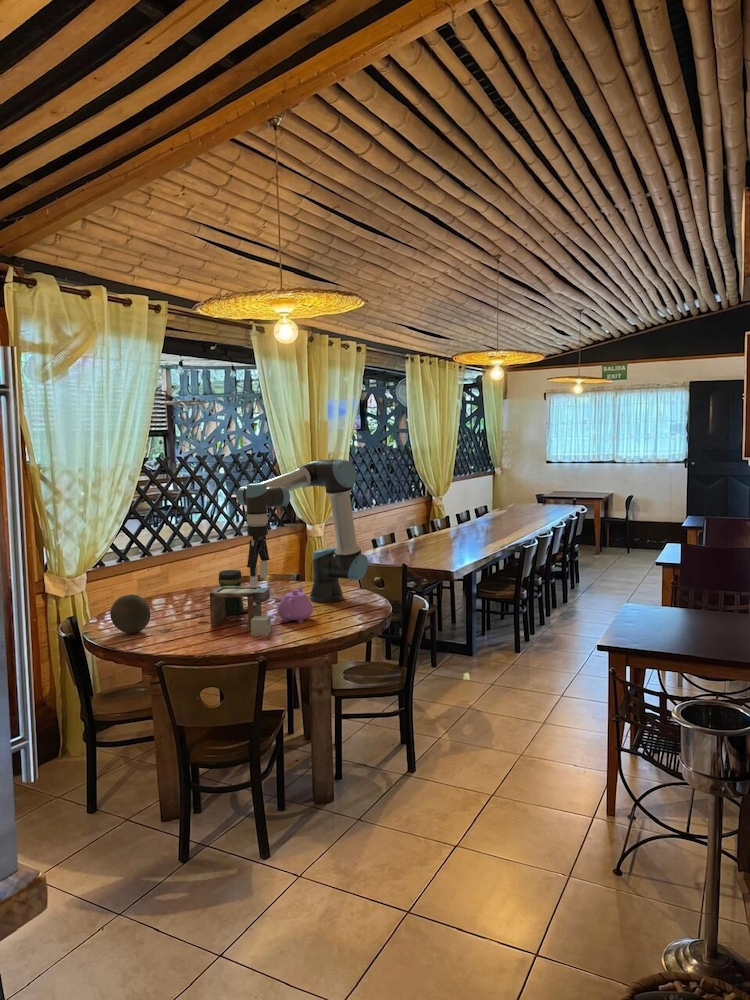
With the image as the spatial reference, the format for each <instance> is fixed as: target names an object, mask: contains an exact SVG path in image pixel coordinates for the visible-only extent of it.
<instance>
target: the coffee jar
mask: <svg viewBox="0 0 750 1000" xmlns="http://www.w3.org/2000/svg"><path fill="white" fill-rule="evenodd" d="M217 581H218V583H219V587H220V586H242V585H241V584H242V582H243V576H242V571H241V570H239V569H227V570H226V569H225V570H224V569H223V570H221V571H219V574H218V580H217ZM243 601H244V600H243V597H225V611H226V616H234V615H239V614H240V615H241V614H242V613H243V612H244V602H243Z"/></svg>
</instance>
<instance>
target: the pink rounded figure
mask: <svg viewBox="0 0 750 1000" xmlns="http://www.w3.org/2000/svg"><path fill="white" fill-rule="evenodd" d="M303 590H304V589H303V584H301V585H299V586H298V589H295V588H294V589H291V592H287V593H285V594H284V595H283V596H282V598H281V599H280V600H279V601H280V602H279V604H278V608H277V615H278V616H279V617H280V618H281V619H283V621H282V622H284V623H285V624H286V622H288V623H290V621H297V623H298V622H299V623H298V624H302V623H301V622H304V620H307V619H306V618H308V619H309V618H310V616H311V615H312V614H313V612H314V606H313V604H312V602H311V600H310V597H309V596H308V595H307V593H305V592H304V591H303ZM304 623H305V622H304Z"/></svg>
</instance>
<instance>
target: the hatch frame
mask: <svg viewBox="0 0 750 1000" xmlns="http://www.w3.org/2000/svg"><path fill="white" fill-rule="evenodd" d="M256 588H262V587H261V586H258V585H250V586H248V585H247V586H245V585H244V586H242V585H241V586H220V585H219V586H218V587H217V588H215V589H214V590H212V591H211V592H209V613H210V614H209V616H210V617H209V618H210V627H211V628H216V627H217V626H219V625H220V624H221V623H222V622H223V621H225V620H226V618H227V617H226V616H227V615H226V611H225V597H242V598H247V620H248V626H247V627H248V628H251V619H252V618H253V617H255V616H263V614H262V613H263V612H262V603H253V592H220V591H221V590H223V589H256Z"/></svg>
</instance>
